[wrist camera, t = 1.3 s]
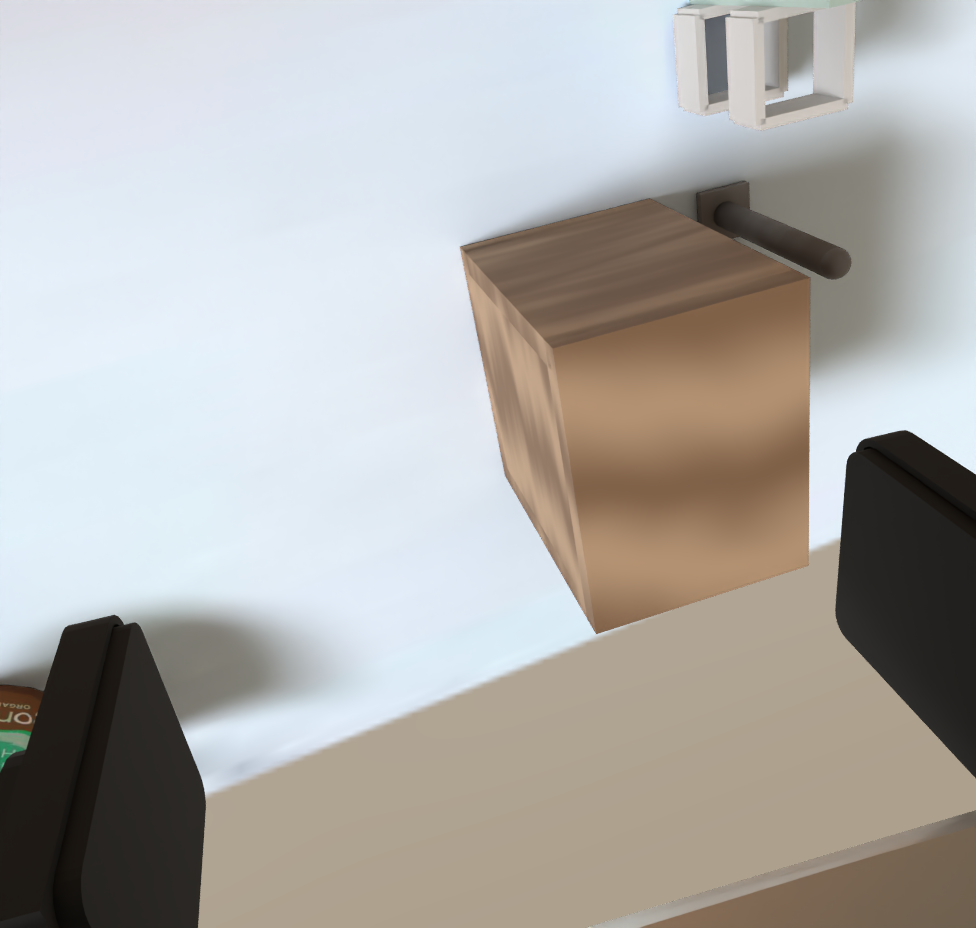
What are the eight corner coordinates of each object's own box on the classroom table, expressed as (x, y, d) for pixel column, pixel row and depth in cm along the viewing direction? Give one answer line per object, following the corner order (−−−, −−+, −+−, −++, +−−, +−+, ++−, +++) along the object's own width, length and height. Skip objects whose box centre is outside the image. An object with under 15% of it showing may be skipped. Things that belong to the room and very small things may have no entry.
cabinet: (460, 247, 39) (552, 348, 28) (744, 174, 41) (936, 242, 30) (505, 476, 45) (596, 634, 34) (751, 403, 47) (913, 531, 36)
